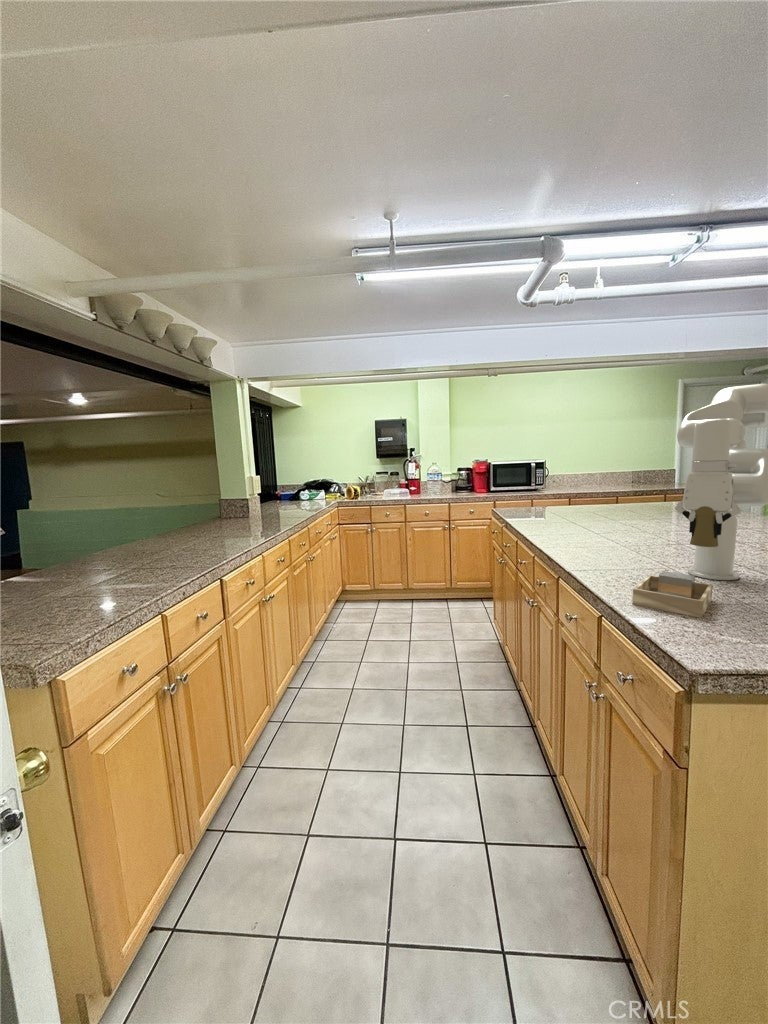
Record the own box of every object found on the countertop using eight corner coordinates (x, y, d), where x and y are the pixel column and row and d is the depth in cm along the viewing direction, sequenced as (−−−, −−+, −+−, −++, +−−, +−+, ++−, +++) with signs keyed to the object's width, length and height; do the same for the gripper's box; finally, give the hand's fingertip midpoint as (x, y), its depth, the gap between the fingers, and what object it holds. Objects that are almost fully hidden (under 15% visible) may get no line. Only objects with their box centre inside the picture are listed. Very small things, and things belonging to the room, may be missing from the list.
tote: (648, 590, 115) (649, 575, 114) (711, 601, 105) (712, 584, 105) (632, 606, 104) (633, 588, 103) (701, 620, 94) (702, 601, 93)
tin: (661, 592, 112) (663, 570, 111) (693, 598, 107) (695, 575, 106) (657, 597, 108) (658, 575, 107) (690, 603, 103) (692, 580, 102)
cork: (723, 547, 106) (727, 505, 104) (697, 546, 107) (700, 505, 106) (710, 541, 112) (713, 502, 110) (685, 541, 113) (687, 502, 111)
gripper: (753, 466, 103) (747, 537, 106) (674, 467, 115) (670, 530, 118) (751, 468, 98) (744, 543, 101) (668, 468, 110) (664, 535, 112)
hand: (704, 535), depth 109 cm, fingers closed on cork, 3 cm apart
